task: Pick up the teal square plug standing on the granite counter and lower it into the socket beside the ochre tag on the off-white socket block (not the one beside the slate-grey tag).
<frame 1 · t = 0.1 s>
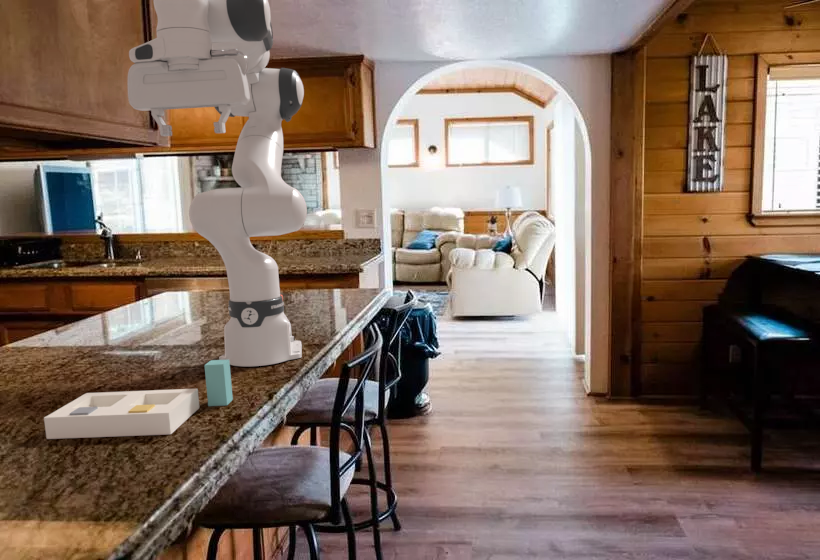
hand: (193, 134, 115), 48 cm above the table, fingers open, 8 cm apart
socket block: (127, 422, 111), on the table
plug: (220, 402, 120), on the table
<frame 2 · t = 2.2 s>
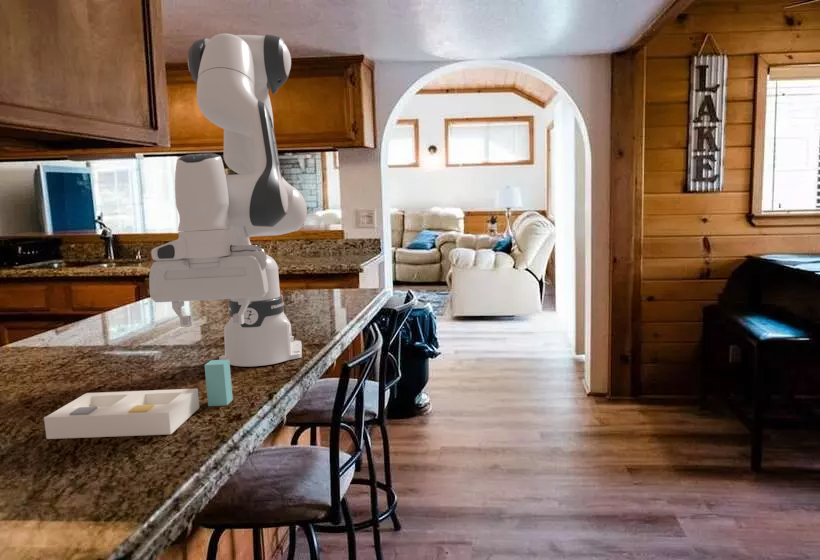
hand: (212, 325, 117), 14 cm above the table, fingers open, 8 cm apart
nothing on the table moved.
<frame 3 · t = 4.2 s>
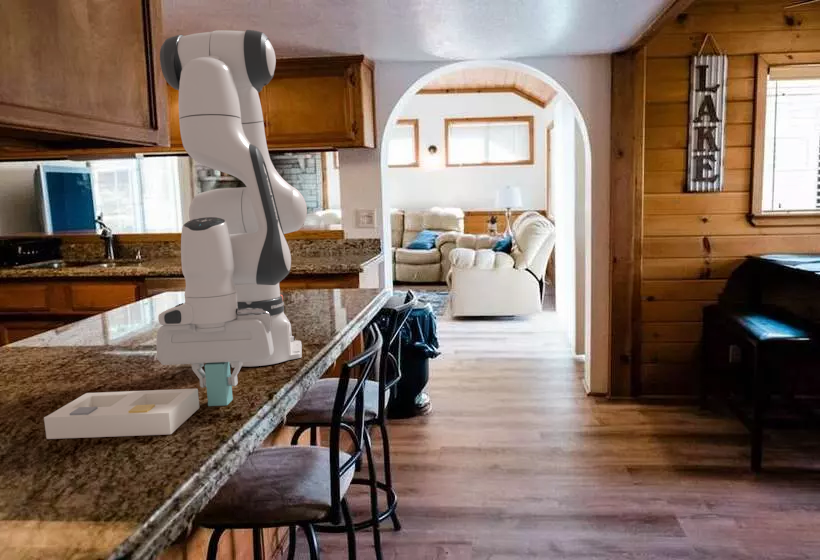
hand: (219, 385, 119), 3 cm above the table, fingers closed on plug, 3 cm apart
plug: (220, 402, 120), on the table, touching gripper
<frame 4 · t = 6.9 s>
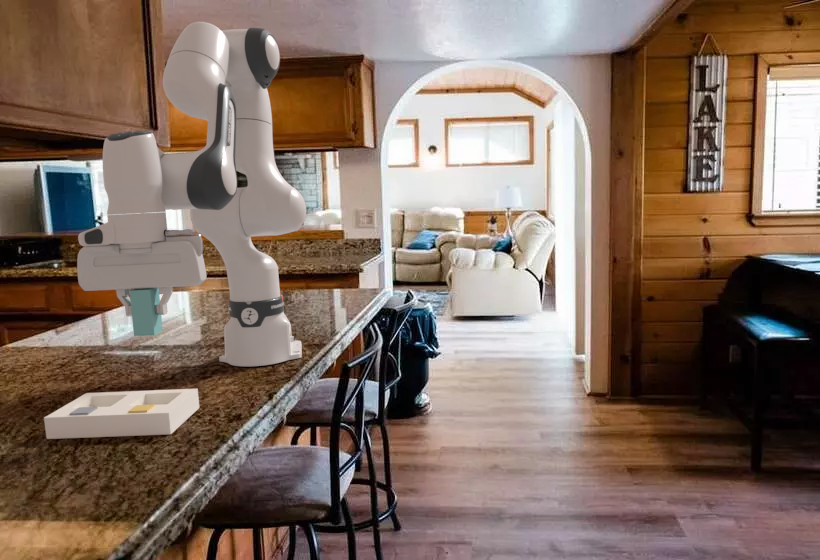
hand: (147, 315, 110), 18 cm above the table, fingers closed on plug, 3 cm apart
plug: (148, 333, 110), point 15 cm above the table, touching gripper
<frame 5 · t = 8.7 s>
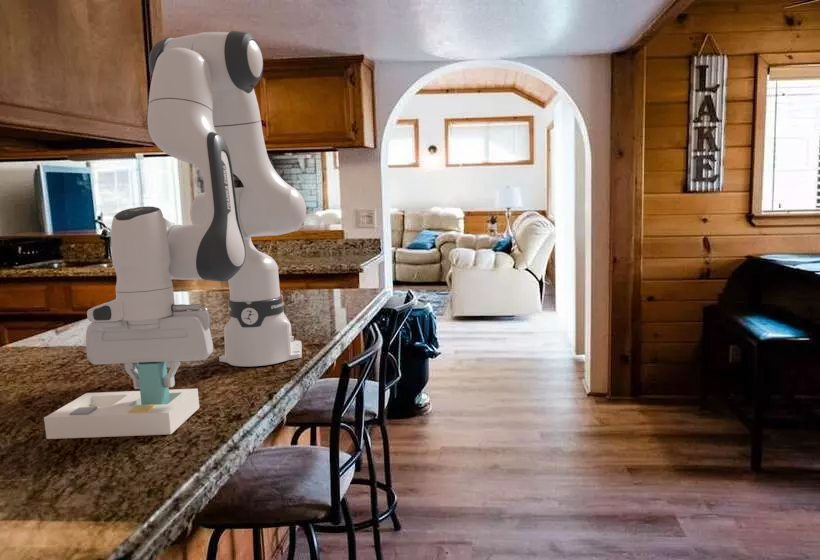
hand: (154, 387, 111), 6 cm above the table, fingers closed on plug, 3 cm apart
plug: (156, 405, 112), point 2 cm above the table, touching gripper
when the fingers open (5 cm above the table, at t = 9.9 s): plug stays where it is, resting on socket block.
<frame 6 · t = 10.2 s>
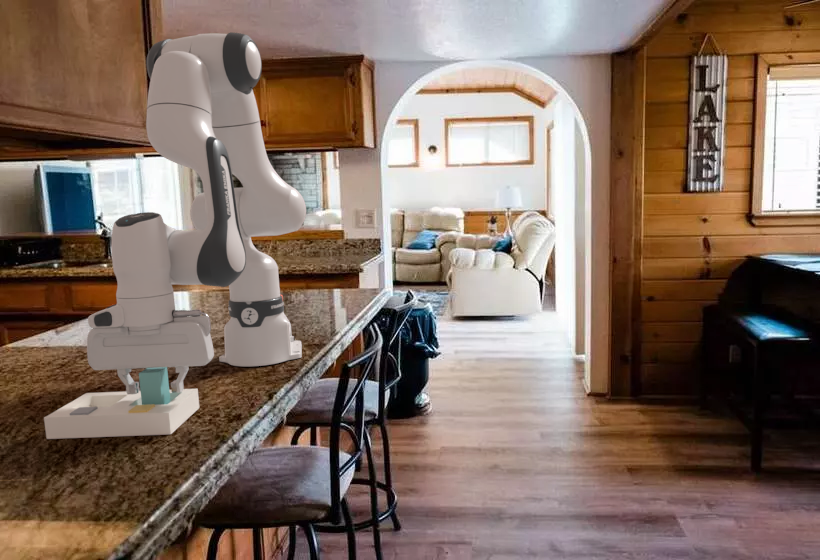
hand: (155, 392, 112), 5 cm above the table, fingers open, 6 cm apart
plug: (157, 413, 112), point 1 cm above the table, touching socket block
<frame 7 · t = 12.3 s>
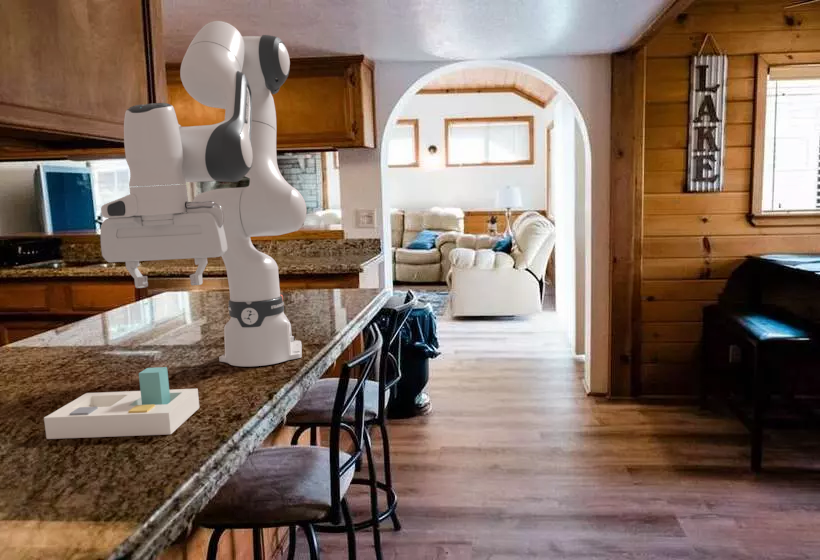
hand: (169, 286, 112), 22 cm above the table, fingers open, 8 cm apart
nothing on the table moved.
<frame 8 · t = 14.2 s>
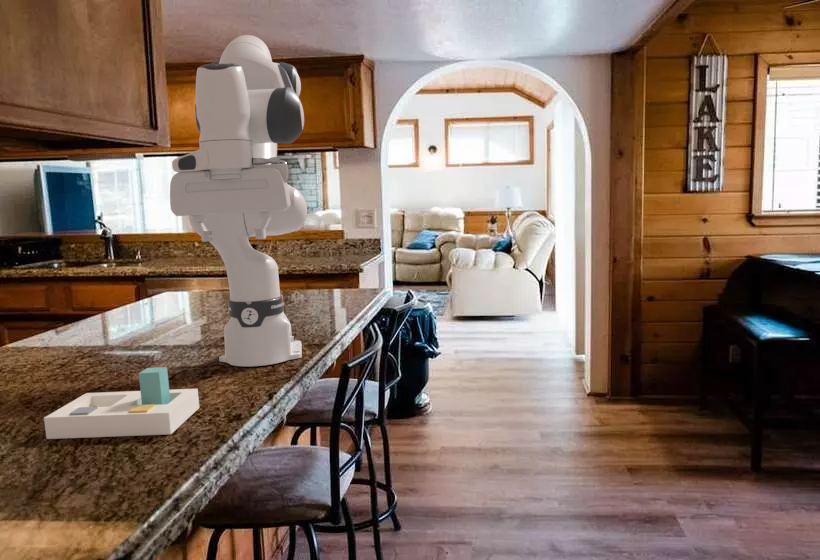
hand: (234, 240, 116), 29 cm above the table, fingers open, 8 cm apart
nothing on the table moved.
at the end: plug 0.1 cm from the target spot on the socket block, point 1.0 cm above the socket block's base; plug tilted 0°; the gripper is holding nothing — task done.
